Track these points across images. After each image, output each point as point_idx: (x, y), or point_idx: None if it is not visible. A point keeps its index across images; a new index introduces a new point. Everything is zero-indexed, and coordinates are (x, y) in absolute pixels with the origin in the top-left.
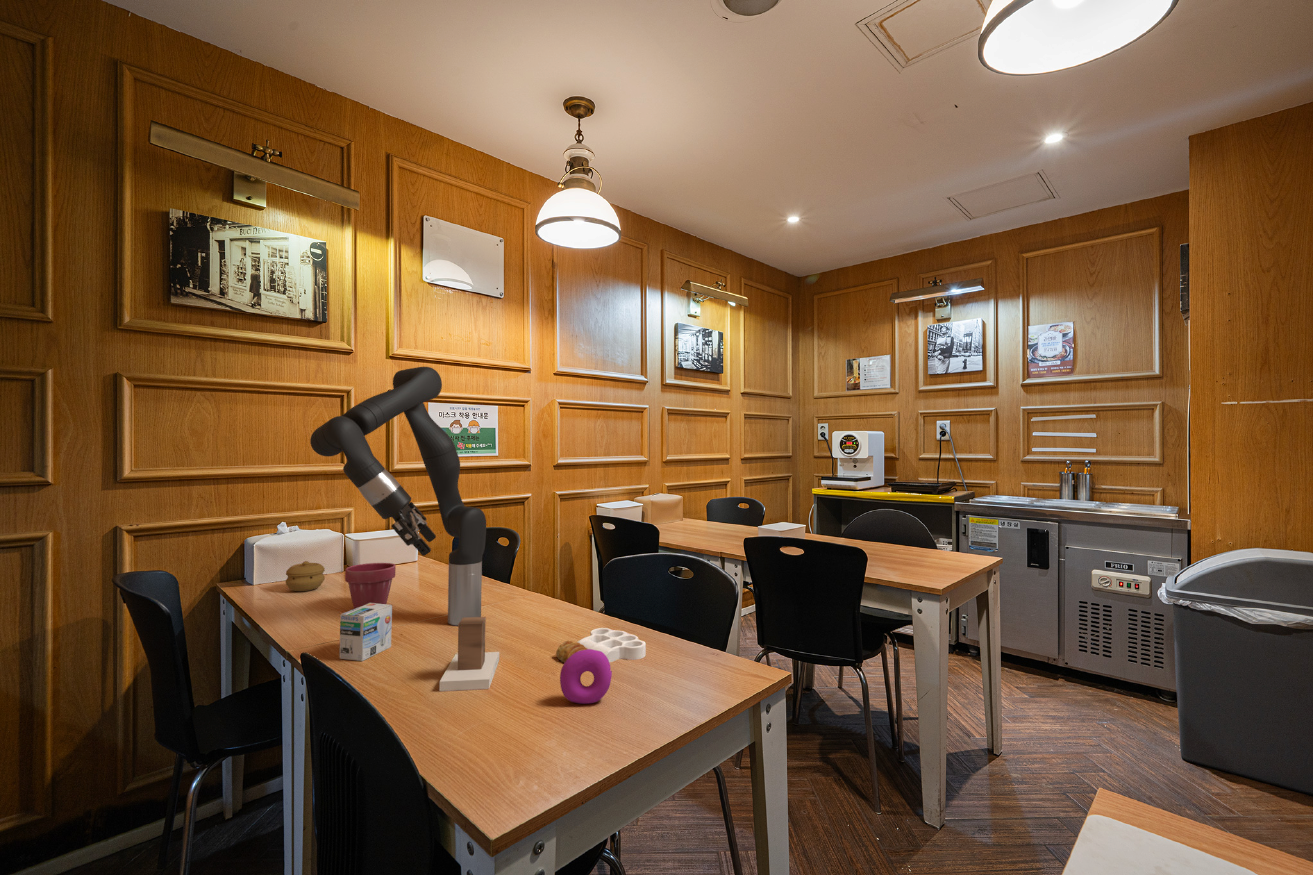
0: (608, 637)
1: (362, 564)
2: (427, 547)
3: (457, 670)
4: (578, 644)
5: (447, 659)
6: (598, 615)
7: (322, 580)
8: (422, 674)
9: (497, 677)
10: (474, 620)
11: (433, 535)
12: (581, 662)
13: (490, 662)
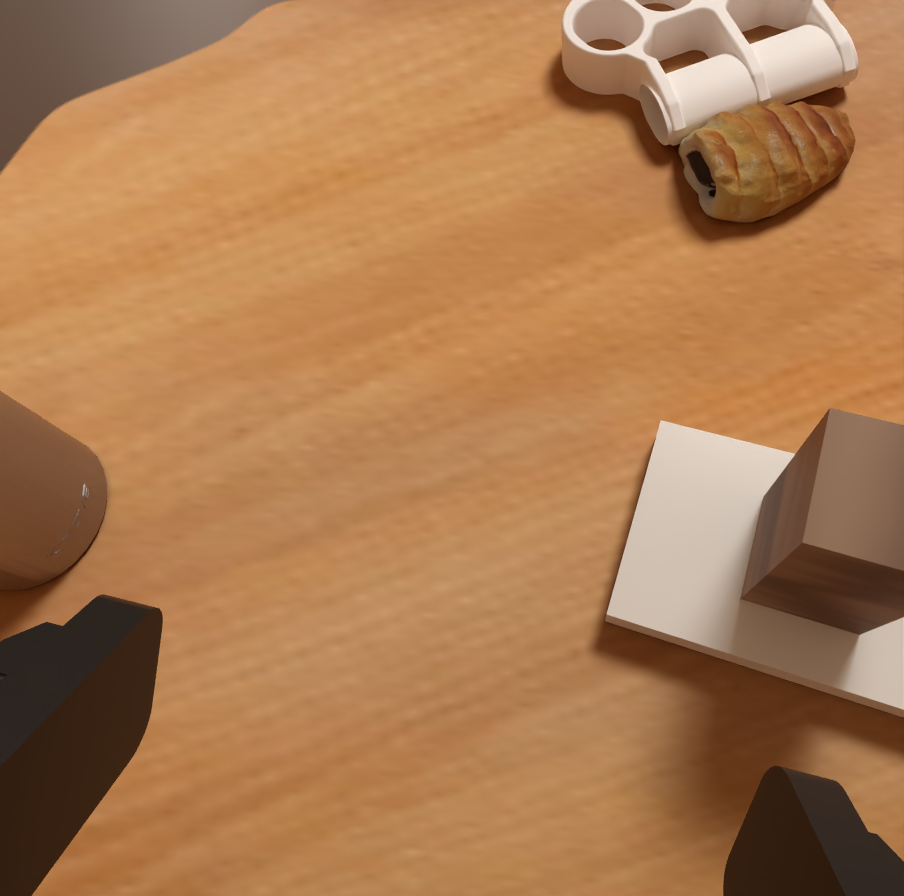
0: (690, 12)
1: None
2: (860, 846)
3: (859, 635)
4: (765, 115)
5: (550, 654)
6: (285, 14)
7: None
8: (715, 797)
9: None
10: (898, 480)
11: (129, 644)
12: None
13: None
